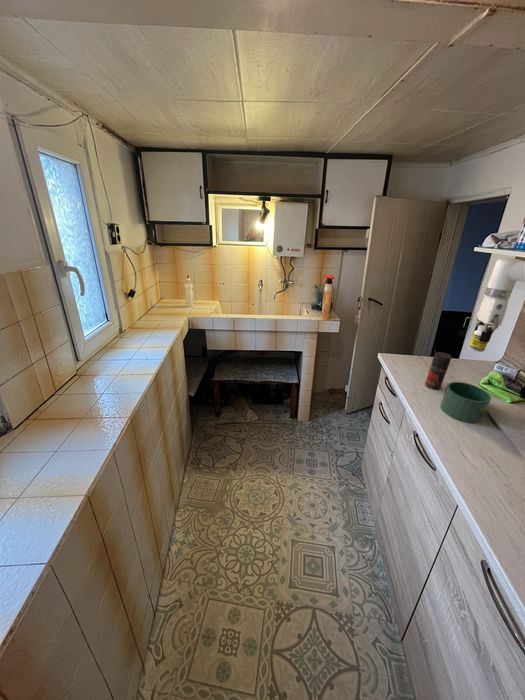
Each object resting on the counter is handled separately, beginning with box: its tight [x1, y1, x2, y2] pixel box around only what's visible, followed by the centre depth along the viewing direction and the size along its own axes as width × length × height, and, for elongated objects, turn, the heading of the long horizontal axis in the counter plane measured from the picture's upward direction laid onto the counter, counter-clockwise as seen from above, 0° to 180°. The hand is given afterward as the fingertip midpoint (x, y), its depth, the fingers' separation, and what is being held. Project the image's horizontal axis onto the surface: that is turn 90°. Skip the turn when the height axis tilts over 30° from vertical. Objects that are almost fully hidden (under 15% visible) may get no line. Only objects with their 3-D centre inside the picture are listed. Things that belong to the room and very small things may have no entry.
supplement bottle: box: [468, 325, 490, 353], centre depth 111 cm, size 5×5×10 cm
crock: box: [439, 381, 492, 424], centre depth 104 cm, size 13×13×9 cm
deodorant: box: [424, 351, 452, 391], centre depth 118 cm, size 6×6×15 cm
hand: (480, 338), depth 111 cm, fingers closed on supplement bottle, 5 cm apart
